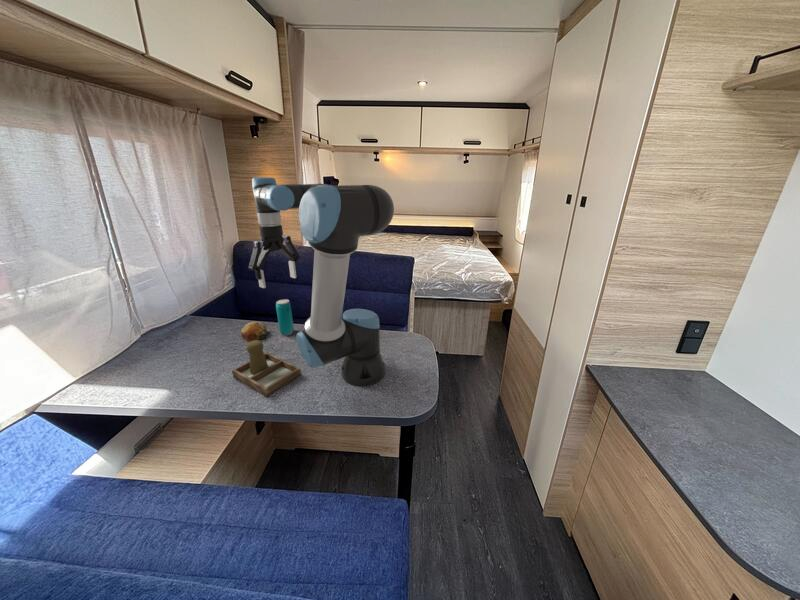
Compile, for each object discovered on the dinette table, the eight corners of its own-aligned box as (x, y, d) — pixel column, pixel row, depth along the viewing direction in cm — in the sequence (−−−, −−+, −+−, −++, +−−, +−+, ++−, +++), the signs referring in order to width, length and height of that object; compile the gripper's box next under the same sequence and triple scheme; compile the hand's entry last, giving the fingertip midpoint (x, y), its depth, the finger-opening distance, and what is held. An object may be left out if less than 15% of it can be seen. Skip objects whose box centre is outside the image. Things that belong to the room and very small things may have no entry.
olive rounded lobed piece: (272, 366, 111) (267, 339, 107) (260, 376, 106) (254, 348, 102) (258, 363, 113) (253, 336, 109) (245, 372, 107) (240, 345, 103)
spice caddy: (301, 375, 108) (300, 368, 107) (266, 397, 97) (265, 389, 96) (268, 359, 117) (266, 352, 116) (233, 377, 107) (231, 370, 106)
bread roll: (265, 336, 140) (260, 319, 140) (271, 336, 132) (266, 318, 132) (242, 344, 135) (237, 326, 134) (246, 343, 126) (241, 324, 126)
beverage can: (296, 330, 138) (292, 299, 133) (290, 336, 133) (286, 304, 127) (283, 329, 139) (279, 298, 133) (277, 336, 134) (272, 303, 128)
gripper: (292, 219, 121) (298, 272, 129) (229, 228, 101) (241, 289, 109) (305, 221, 117) (311, 275, 125) (243, 230, 98) (254, 294, 106)
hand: (278, 282), depth 117 cm, fingers open, 13 cm apart
